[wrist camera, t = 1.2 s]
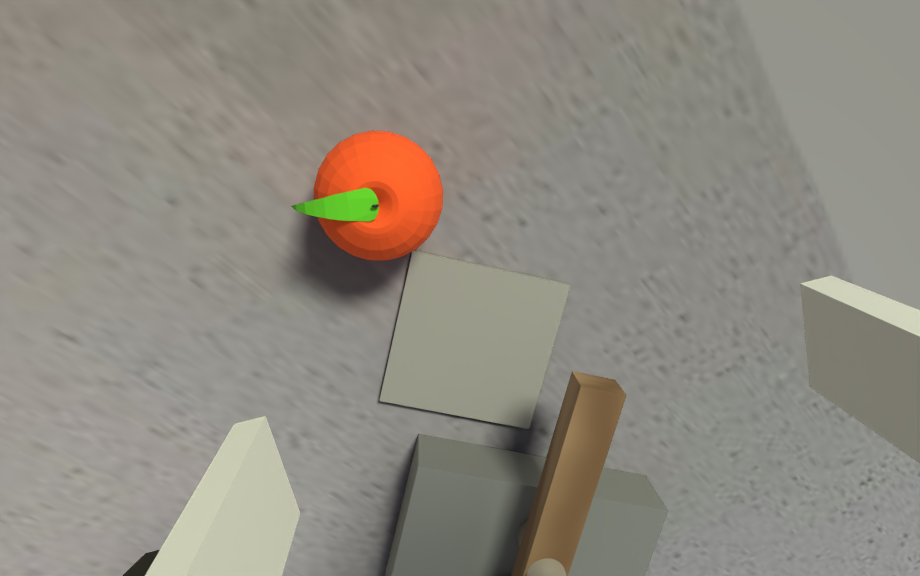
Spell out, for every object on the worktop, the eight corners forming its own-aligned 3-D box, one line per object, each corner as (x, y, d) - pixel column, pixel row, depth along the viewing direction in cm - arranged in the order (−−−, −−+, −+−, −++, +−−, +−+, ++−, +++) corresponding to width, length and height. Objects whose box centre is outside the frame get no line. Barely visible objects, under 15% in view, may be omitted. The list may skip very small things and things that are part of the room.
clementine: (314, 253, 38) (291, 283, 32) (296, 136, 37) (268, 141, 30) (446, 241, 39) (451, 268, 32) (435, 124, 37) (439, 126, 30)
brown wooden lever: (498, 585, 40) (507, 639, 36) (565, 359, 37) (583, 391, 32) (536, 591, 41) (550, 645, 36) (606, 368, 37) (630, 400, 33)
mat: (379, 398, 41) (379, 400, 41) (412, 249, 39) (412, 251, 38) (528, 426, 42) (529, 429, 42) (569, 284, 40) (570, 285, 40)
